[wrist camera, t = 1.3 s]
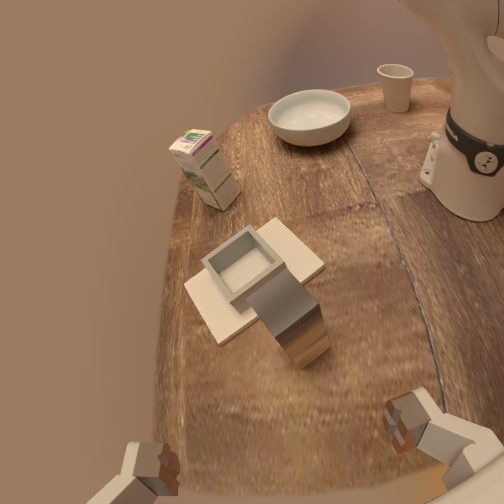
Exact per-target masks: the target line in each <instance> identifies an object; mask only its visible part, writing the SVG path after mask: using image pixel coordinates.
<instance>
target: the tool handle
mask: <svg viewBox="0 0 504 504" xmlns="http://www.w3.org/2000/svg"><path fill="white" fill-rule="evenodd" d="M246 300H247V302H248V303H249V304H250V306H251V307H252V308H253V310H254V311H255V312H256V314H257V315H258V316H259V318H260V319H261V320H262V322H263V323H264V324H265V326H266V327H267V328H268V330H269V331H270V332H271V334H272V335H273V336H274V338H275V339H276V340H277V341H278V342H279V344H280V345H281V346H282V347H283V348H284V350H285V351H286V352H287V353H288V354H289V356H290V357H291V358H292V359H293V360H294V362H295V363H296V364H297V365H298V366H299V367H300V369H302V368H304V367H305V366H306V365H308V364H309V363H310V362H311V361H313V360H314V359H315V358H317V357H318V356H319V355H320V354H322V353H323V352H324V351H325V350H327V349H328V348H329V347H330V345H329V341H328V337H327V333H326V329H325V325H324V321H323V317H322V313H321V309H320V305H319V303H318V302H317V300H316V299H315V298H314V297H313V296H312V295H311V294H310V293H309V292H308V291H307V290H306V288H305V287H304V286H303V285H302V284H301V283H300V282H299V281H298V280H297V279H296V278H295V276H294V275H293V274H292V273H291V272H290V271H289V270H288V269H287V268H286V269H285V270H284V271H282V272H281V273H280V274H278V275H277V276H276V277H274V278H273V279H272V280H270V281H269V282H268V283H266V284H265V285H264V286H262V287H261V288H260V289H258V290H257V291H256V292H254V293H253V294H252V295H250V296H249V297H248V298H246Z"/></svg>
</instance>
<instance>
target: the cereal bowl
mask: <svg viewBox="0 0 504 504" xmlns="http://www.w3.org/2000/svg"><path fill="white" fill-rule="evenodd" d="M268 118H269V122H270V124H271V126H272V128H273V130H274V131H275V133H276V134H277V135H278V136H279V137H280V138H281V139H283V140H284V141H286V142H288V143H291V144H294V145H299V146H317V145H322V144H325V143H328V142H331V141H333V140H335V139H337V138H338V137H340V136H341V135H342V134H343V133H344V132H345V131H346V129H347V128H348V126H349V124H350V120H351V105H350V103H349V101H348V100H347V99H346V98H345V97H344V96H342V95H341V94H339V93H336V92H333V91H328V90H306V91H301V92H297V93H294V94H291V95H288V96H286V97H284V98H282V99H280V100H279V101H277V102H276V103H275V104H274V105H273V106H272V107H271V109H270V111H269V113H268Z"/></svg>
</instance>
